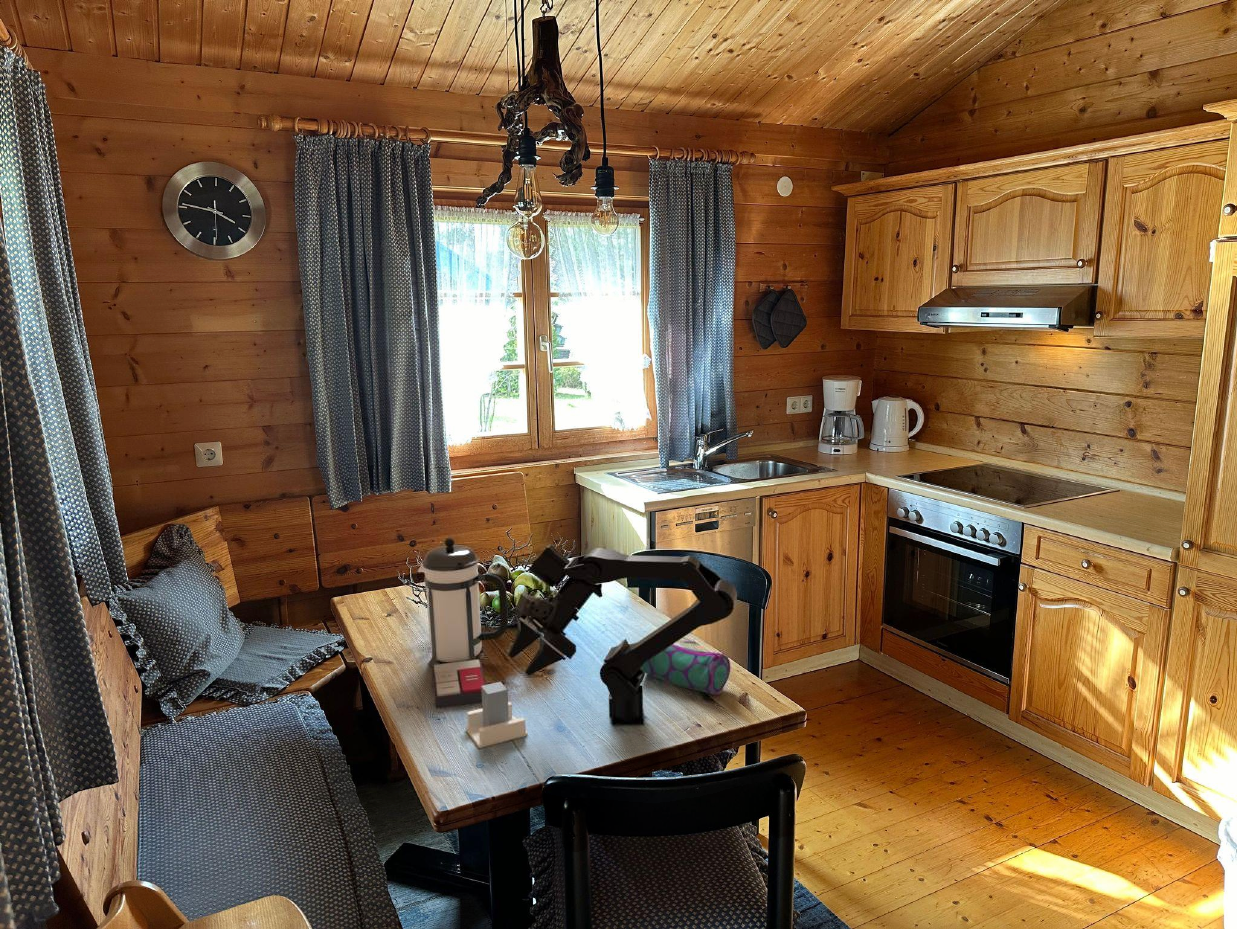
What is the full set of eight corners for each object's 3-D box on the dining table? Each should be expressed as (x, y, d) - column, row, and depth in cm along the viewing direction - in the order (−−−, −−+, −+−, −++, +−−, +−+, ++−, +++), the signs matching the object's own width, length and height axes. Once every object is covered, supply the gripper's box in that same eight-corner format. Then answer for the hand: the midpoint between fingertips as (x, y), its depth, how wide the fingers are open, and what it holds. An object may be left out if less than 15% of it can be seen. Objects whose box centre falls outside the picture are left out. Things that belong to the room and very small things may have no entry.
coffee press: (448, 680, 198) (439, 552, 192) (413, 658, 209) (404, 537, 203) (511, 657, 209) (505, 536, 203) (475, 638, 221) (468, 523, 215)
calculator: (434, 694, 183) (431, 662, 198) (436, 713, 185) (432, 679, 199) (487, 687, 186) (480, 656, 200) (488, 706, 187) (481, 673, 201)
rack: (512, 717, 180) (511, 701, 179) (528, 736, 172) (527, 719, 171) (465, 729, 175) (464, 712, 175) (479, 749, 168) (478, 731, 167)
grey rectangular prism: (502, 723, 176) (500, 681, 174) (509, 732, 173) (507, 689, 171) (483, 728, 174) (481, 686, 173) (490, 736, 171) (487, 694, 169)
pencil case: (633, 678, 197) (632, 638, 195) (656, 664, 203) (655, 625, 201) (712, 703, 184) (712, 661, 182) (734, 688, 191) (734, 646, 189)
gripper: (523, 566, 180) (473, 627, 177) (559, 593, 163) (505, 661, 161) (559, 596, 185) (512, 656, 182) (598, 625, 168) (547, 691, 166)
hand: (518, 665), depth 172 cm, fingers open, 9 cm apart
